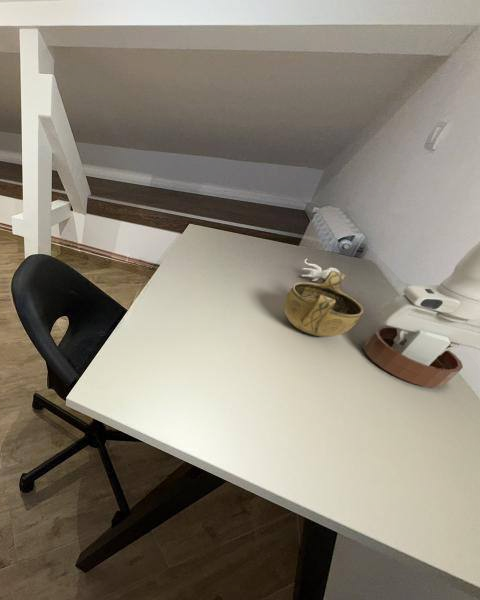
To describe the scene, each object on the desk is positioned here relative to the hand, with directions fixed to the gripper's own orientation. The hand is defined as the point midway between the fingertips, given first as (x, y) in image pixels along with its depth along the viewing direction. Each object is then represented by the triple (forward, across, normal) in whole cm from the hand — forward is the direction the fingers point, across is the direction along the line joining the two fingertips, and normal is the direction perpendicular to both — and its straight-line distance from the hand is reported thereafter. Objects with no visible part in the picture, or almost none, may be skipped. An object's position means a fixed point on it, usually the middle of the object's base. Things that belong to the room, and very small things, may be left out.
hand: (415, 347), depth 78 cm
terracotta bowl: (+6, 0, 0) cm, 6 cm away
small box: (+5, 0, 0) cm, 5 cm away
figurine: (+6, +12, -44) cm, 46 cm away
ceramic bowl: (+6, +21, -5) cm, 22 cm away
